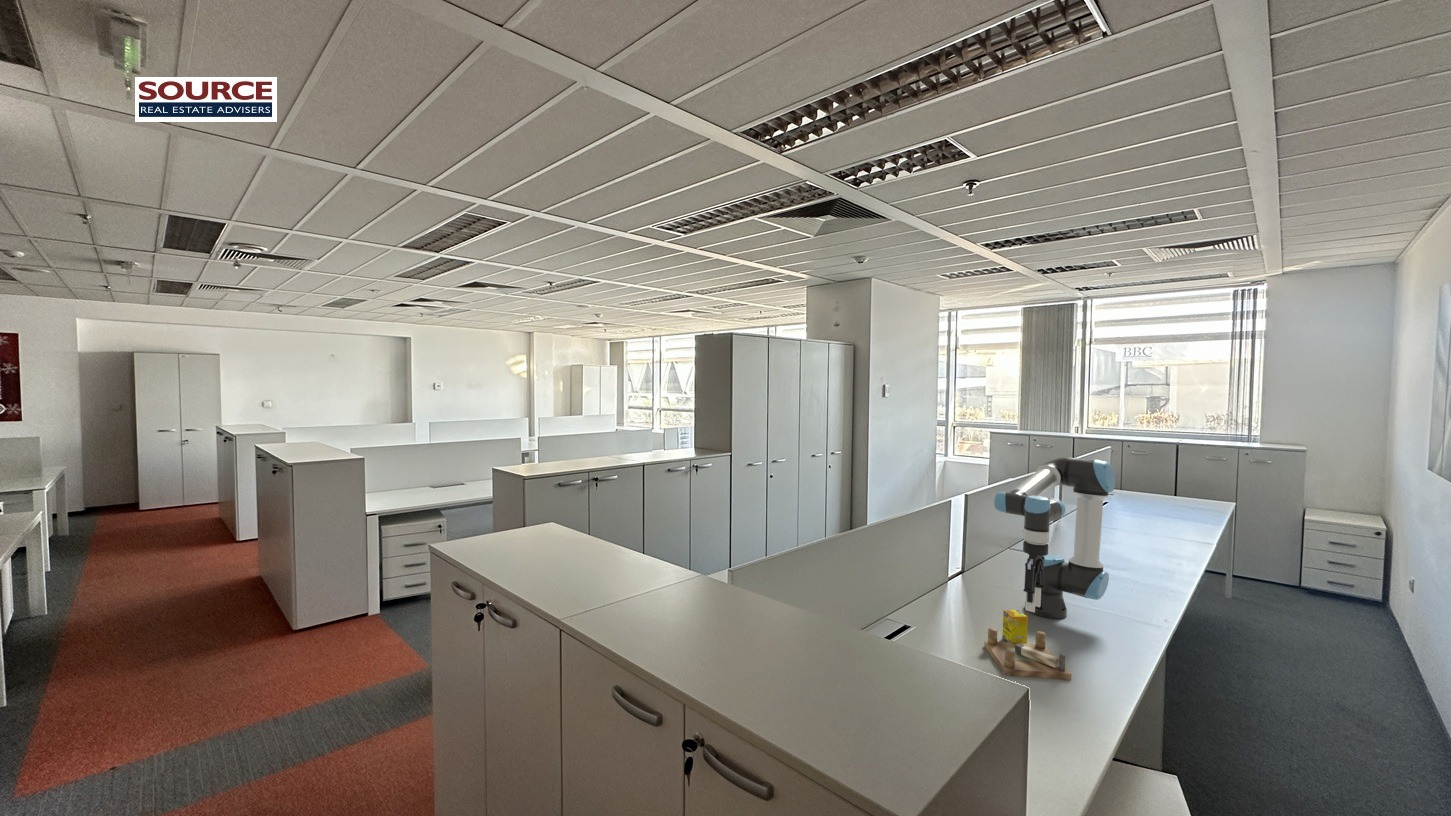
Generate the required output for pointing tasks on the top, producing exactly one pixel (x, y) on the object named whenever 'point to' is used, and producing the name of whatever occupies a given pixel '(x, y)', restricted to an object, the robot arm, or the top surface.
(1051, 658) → the stool leg
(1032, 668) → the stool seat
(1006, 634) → the supplement box
